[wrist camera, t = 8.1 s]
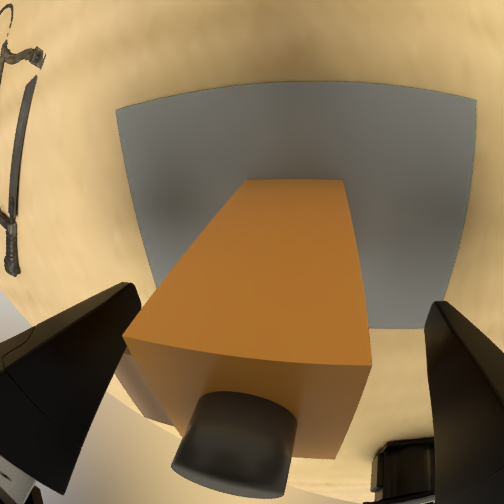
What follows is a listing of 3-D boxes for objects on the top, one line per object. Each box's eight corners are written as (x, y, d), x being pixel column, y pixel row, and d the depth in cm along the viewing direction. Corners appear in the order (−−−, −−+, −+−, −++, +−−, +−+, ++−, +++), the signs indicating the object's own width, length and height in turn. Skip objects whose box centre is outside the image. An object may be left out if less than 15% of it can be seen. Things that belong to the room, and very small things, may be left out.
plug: (342, 179, 11) (373, 463, 2) (338, 264, 13) (327, 512, 4) (246, 179, 12) (76, 400, 3) (254, 261, 14) (162, 481, 5)
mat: (471, 99, 8) (476, 100, 8) (430, 322, 14) (432, 328, 14) (121, 108, 12) (115, 110, 12) (167, 306, 18) (164, 311, 17)
